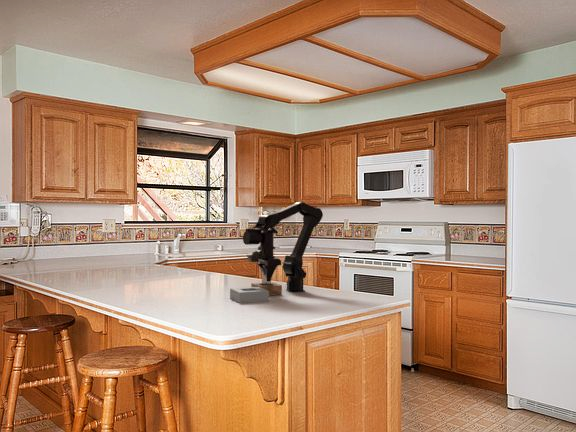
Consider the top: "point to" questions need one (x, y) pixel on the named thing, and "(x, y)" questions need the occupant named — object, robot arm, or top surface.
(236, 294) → the socket block
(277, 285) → the pin mount
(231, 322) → the top surface
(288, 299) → the top surface
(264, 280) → the lock pin
